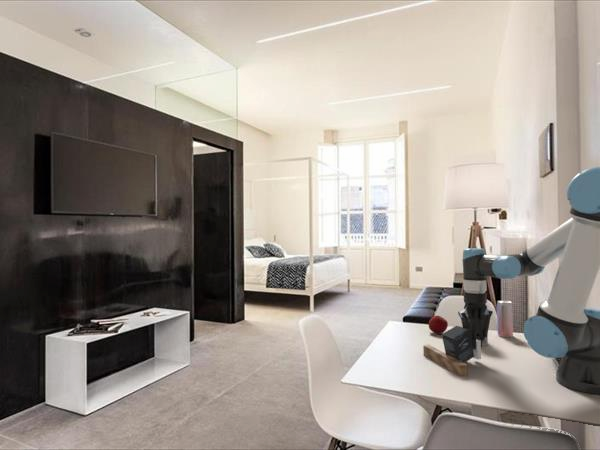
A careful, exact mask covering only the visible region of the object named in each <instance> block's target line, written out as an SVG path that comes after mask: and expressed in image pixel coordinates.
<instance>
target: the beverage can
mask: <svg viewBox="0 0 600 450" xmlns="http://www.w3.org/2000/svg"><path fill="white" fill-rule="evenodd" d="M496 311H497V312H496V315H497V316H496V320H497V324H496V327H497V335H498V336H499V337H501V338H512V337H514V323H513V321H514V320H513V318H514V317H513V316H514V315H513V302H512V301H510V300H497V303H496Z"/></svg>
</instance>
